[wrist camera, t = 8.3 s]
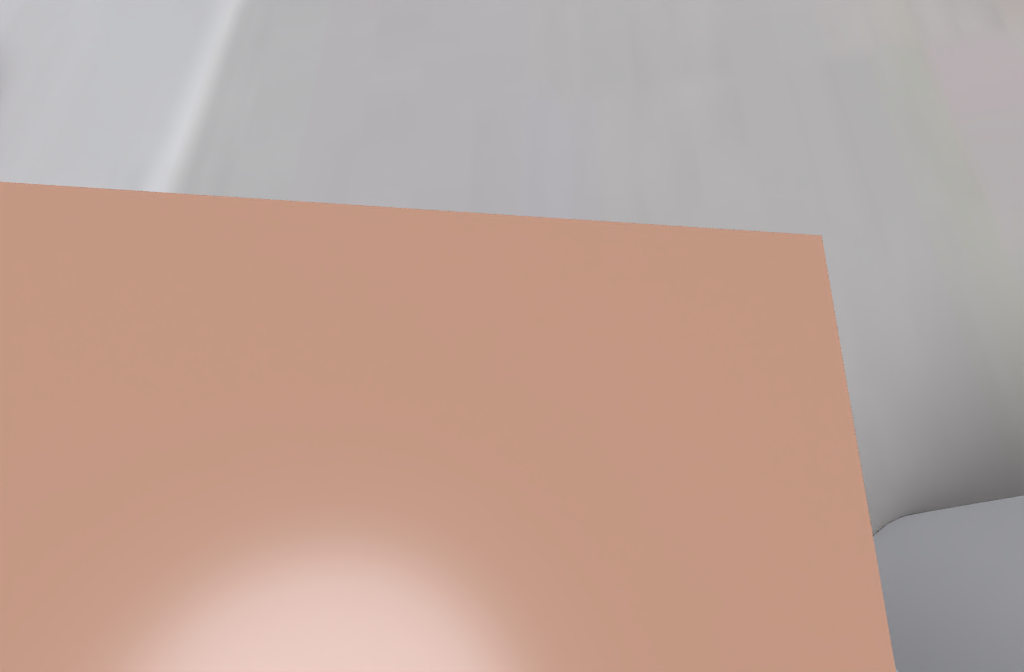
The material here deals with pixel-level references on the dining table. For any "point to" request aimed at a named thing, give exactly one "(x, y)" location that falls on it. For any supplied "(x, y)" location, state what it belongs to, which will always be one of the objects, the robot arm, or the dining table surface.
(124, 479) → the tall peach block
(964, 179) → the dining table surface
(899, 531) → the cylindrical container
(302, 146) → the dining table surface
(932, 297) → the dining table surface
